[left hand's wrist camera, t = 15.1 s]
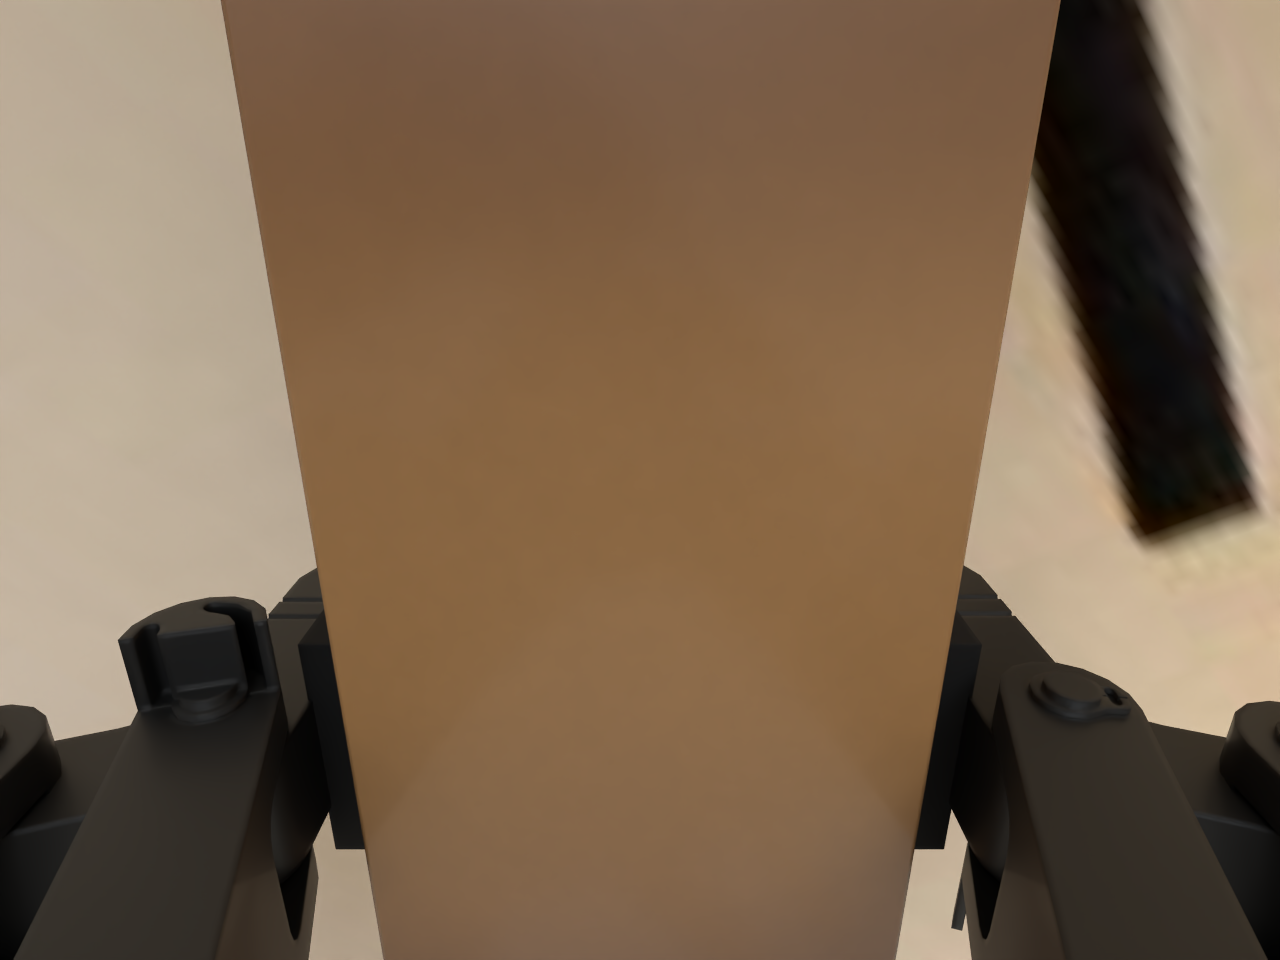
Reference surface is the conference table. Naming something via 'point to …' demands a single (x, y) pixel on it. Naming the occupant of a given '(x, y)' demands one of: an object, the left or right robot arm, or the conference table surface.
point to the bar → (640, 441)
